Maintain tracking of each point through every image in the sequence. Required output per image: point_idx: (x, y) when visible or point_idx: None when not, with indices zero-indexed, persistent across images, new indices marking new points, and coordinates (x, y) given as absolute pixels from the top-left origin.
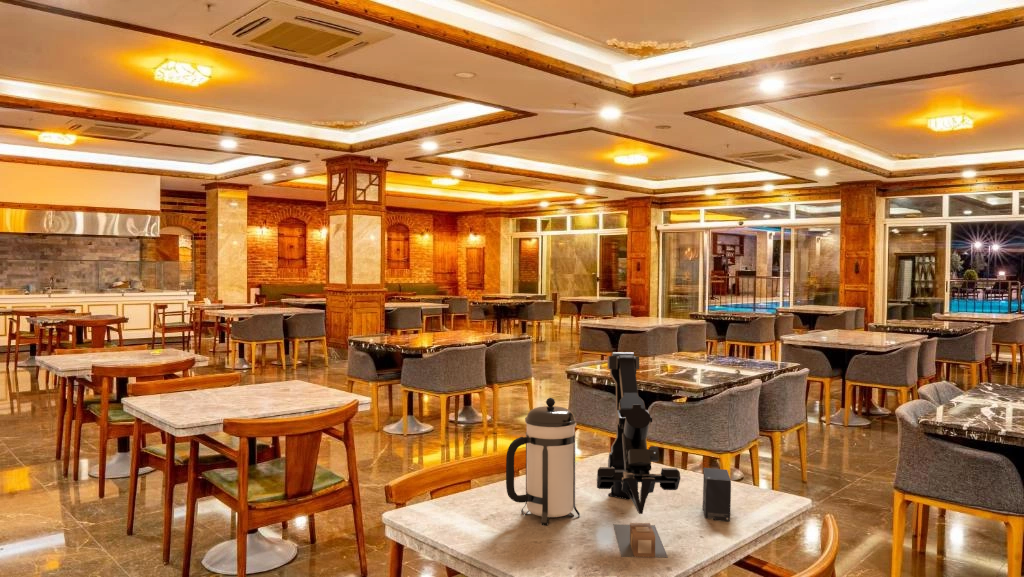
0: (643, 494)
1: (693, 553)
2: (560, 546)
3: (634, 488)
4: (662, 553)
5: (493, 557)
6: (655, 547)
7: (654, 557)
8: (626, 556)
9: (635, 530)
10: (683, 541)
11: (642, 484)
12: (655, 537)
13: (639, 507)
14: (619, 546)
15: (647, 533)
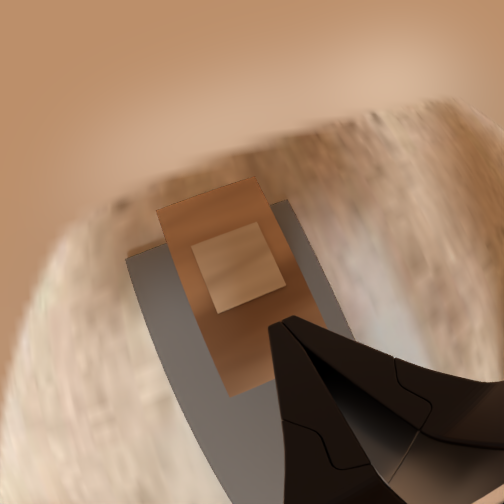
0: (322, 425)
1: (59, 360)
2: (462, 227)
3: (452, 413)
4: (150, 290)
5: (491, 134)
6: (191, 343)
7: None
8: (271, 207)
9: (271, 245)
10: (117, 465)
11: (399, 497)
12: (222, 449)
13: (304, 329)
14: (327, 286)
15: (200, 229)
